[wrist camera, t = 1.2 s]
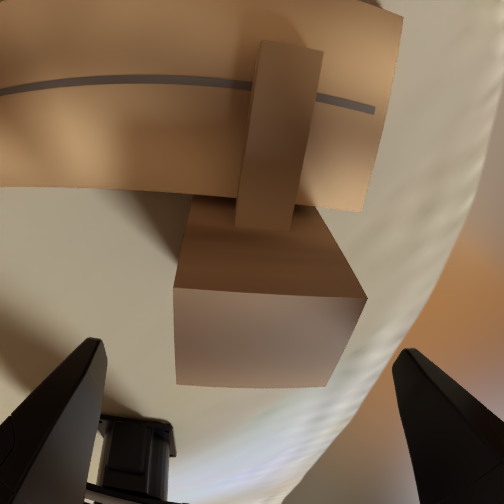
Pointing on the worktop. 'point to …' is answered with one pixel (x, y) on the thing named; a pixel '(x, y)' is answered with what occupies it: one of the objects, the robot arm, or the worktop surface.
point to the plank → (184, 92)
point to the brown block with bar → (265, 253)
